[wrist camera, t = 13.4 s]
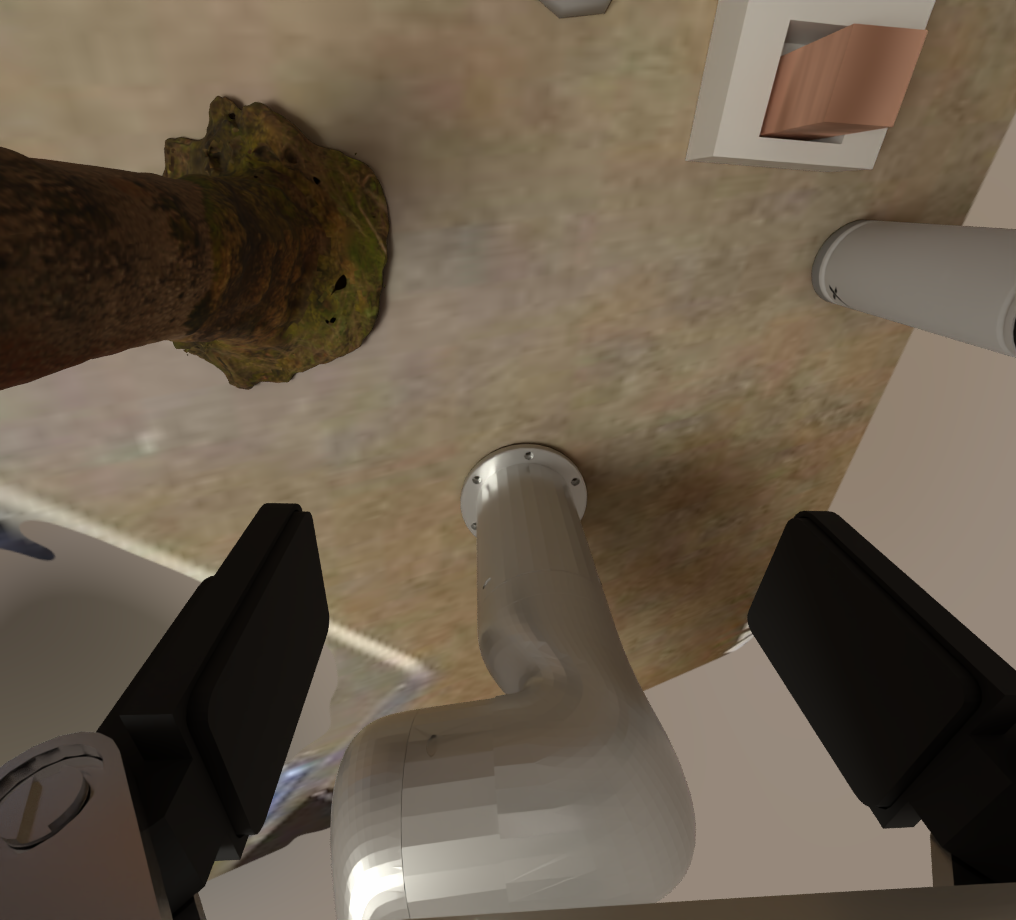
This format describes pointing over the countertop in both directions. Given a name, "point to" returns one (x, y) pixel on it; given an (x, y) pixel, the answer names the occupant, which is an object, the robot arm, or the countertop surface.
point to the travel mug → (925, 278)
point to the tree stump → (193, 253)
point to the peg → (842, 83)
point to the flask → (576, 7)
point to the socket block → (751, 72)
